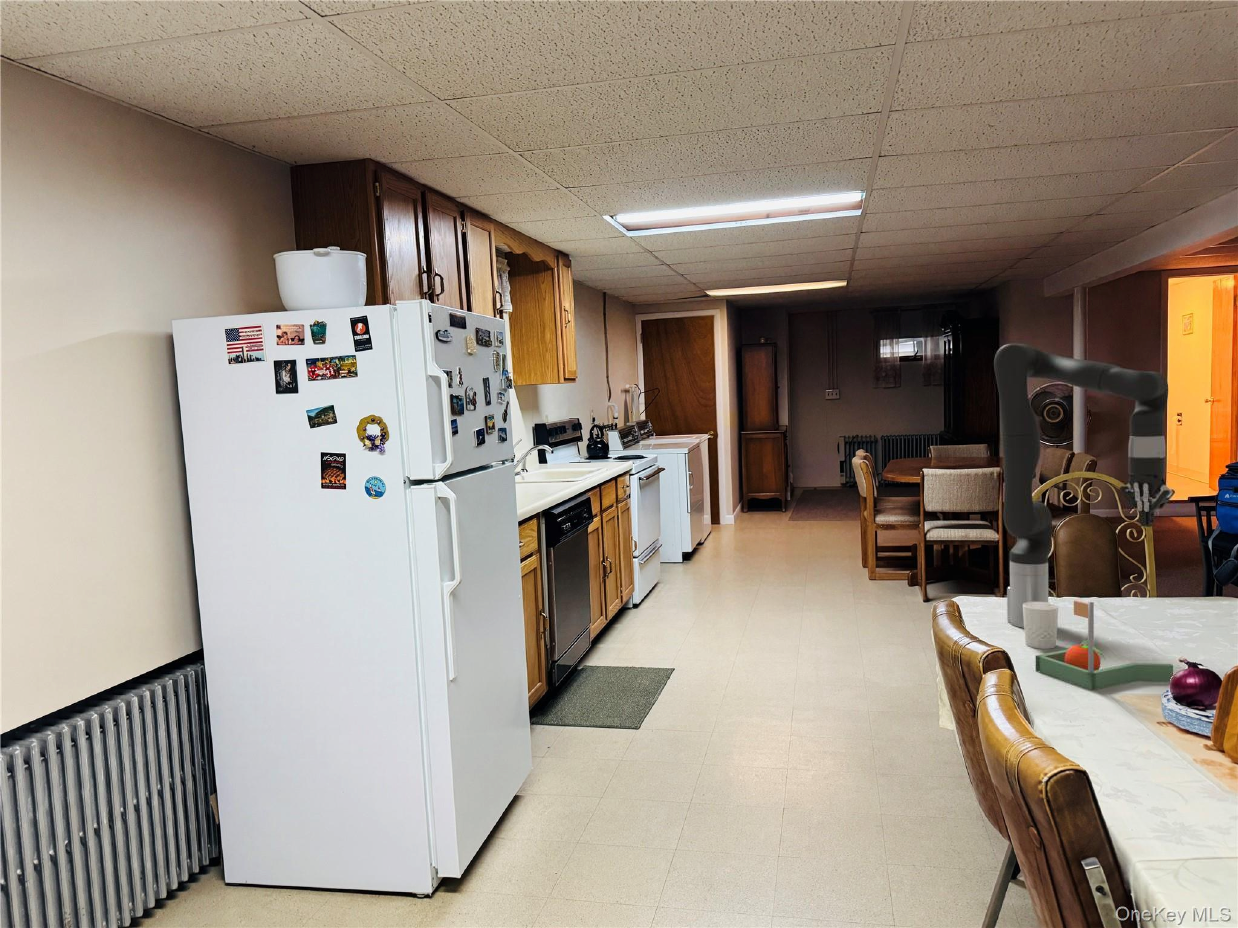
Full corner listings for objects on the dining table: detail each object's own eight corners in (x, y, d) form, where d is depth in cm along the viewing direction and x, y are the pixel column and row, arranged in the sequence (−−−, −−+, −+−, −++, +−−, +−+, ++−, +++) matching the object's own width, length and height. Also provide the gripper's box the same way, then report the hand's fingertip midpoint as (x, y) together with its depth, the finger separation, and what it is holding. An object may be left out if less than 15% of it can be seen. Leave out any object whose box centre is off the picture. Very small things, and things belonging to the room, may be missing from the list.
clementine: (1109, 676, 183) (1109, 644, 183) (1101, 684, 178) (1101, 651, 178) (1069, 669, 189) (1069, 638, 188) (1060, 677, 184) (1060, 645, 183)
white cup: (1044, 651, 202) (1044, 611, 201) (1015, 644, 209) (1015, 604, 208) (1065, 646, 206) (1065, 606, 205) (1036, 638, 213) (1036, 600, 212)
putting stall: (1022, 665, 193) (1021, 586, 191) (1085, 653, 199) (1085, 576, 198) (1107, 695, 172) (1107, 607, 171) (1175, 681, 179) (1175, 595, 177)
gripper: (1110, 454, 206) (1110, 524, 207) (1161, 457, 194) (1161, 531, 195) (1132, 452, 209) (1132, 521, 210) (1184, 455, 196) (1184, 528, 198)
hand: (1146, 526), depth 203 cm, fingers closed
